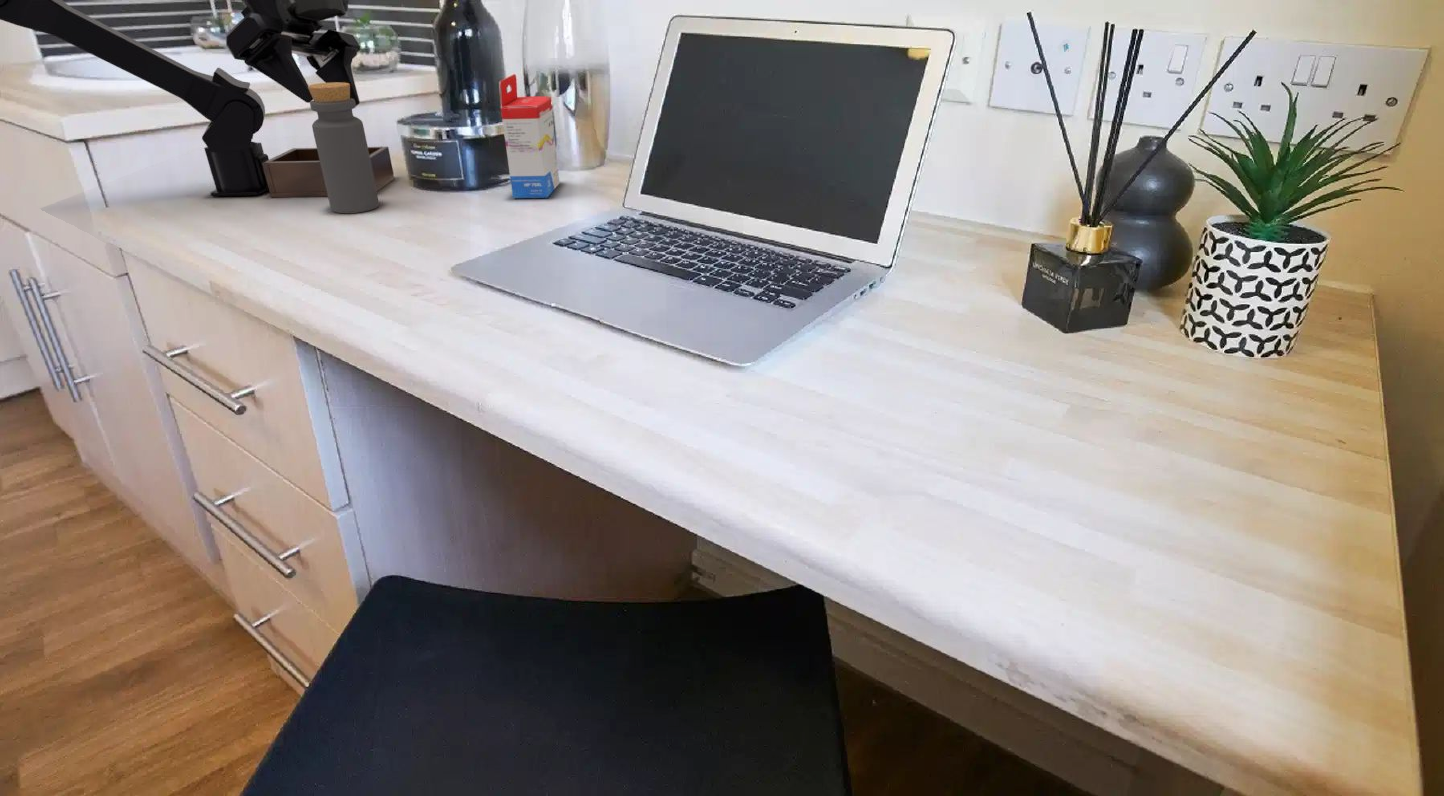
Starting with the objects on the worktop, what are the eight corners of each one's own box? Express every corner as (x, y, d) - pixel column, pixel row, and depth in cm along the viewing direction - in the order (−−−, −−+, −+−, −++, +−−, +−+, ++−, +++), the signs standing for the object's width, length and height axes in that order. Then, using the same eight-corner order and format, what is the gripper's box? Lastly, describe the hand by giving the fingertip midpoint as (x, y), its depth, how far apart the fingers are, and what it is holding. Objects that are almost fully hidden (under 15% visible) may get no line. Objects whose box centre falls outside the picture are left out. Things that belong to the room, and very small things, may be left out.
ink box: (548, 198, 111) (535, 81, 104) (511, 199, 111) (495, 81, 104) (560, 183, 119) (549, 72, 112) (526, 183, 119) (512, 73, 112)
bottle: (384, 208, 108) (359, 85, 101) (336, 216, 105) (307, 89, 98) (373, 199, 112) (348, 80, 105) (326, 206, 109) (298, 84, 102)
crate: (270, 197, 114) (261, 162, 112) (300, 180, 122) (292, 148, 120) (371, 195, 114) (364, 161, 112) (394, 178, 122) (388, 146, 120)
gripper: (250, -64, 96) (329, 58, 98) (353, -30, 114) (418, 73, 116) (190, -4, 100) (267, 112, 102) (298, 20, 117) (362, 119, 119)
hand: (334, 103), depth 109 cm, fingers open, 9 cm apart
